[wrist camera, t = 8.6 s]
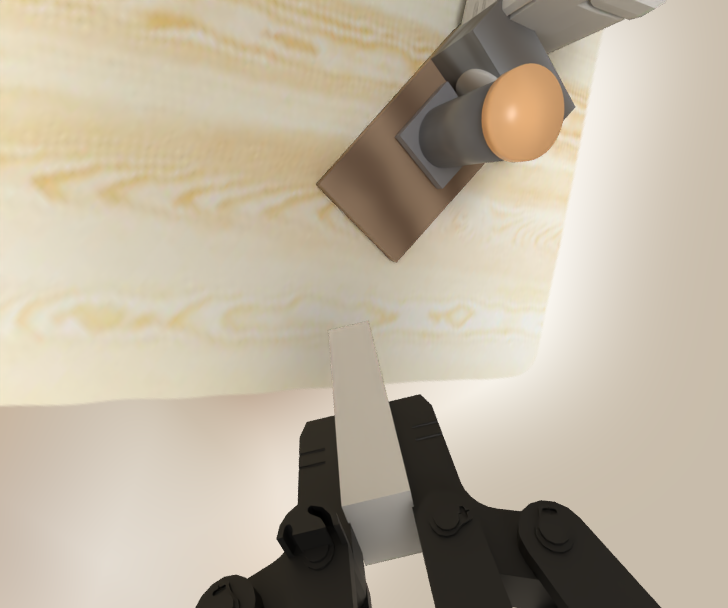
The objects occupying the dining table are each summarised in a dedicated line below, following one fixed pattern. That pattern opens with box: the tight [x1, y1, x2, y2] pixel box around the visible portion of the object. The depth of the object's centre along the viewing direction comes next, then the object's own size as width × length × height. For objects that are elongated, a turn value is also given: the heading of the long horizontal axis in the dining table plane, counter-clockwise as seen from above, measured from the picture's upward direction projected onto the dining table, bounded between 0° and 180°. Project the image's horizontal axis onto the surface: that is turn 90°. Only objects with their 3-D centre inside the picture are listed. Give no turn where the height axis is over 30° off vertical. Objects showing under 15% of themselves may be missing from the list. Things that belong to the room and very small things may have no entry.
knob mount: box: [316, 0, 575, 263], centre depth 31 cm, size 18×10×8 cm, turn 135°
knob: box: [395, 63, 564, 189], centre depth 28 cm, size 6×6×11 cm
